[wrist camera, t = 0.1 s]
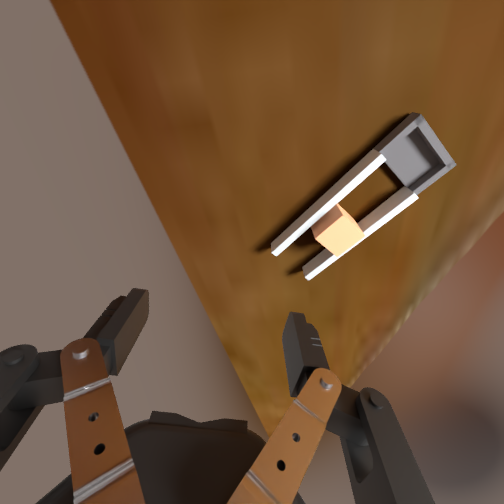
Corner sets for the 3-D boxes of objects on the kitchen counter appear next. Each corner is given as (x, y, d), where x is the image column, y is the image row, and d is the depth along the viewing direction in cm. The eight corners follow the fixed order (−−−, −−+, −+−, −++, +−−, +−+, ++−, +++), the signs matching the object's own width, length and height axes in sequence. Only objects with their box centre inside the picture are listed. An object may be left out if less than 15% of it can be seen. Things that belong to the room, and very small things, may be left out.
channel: (372, 148, 29) (381, 153, 27) (408, 190, 32) (418, 198, 30) (270, 243, 37) (271, 252, 35) (306, 270, 40) (309, 280, 38)
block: (333, 200, 33) (343, 214, 30) (354, 219, 35) (365, 235, 31) (309, 222, 35) (315, 238, 32) (329, 239, 37) (337, 257, 33)
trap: (412, 112, 27) (421, 114, 26) (446, 160, 30) (456, 164, 28) (372, 148, 29) (379, 152, 28) (408, 190, 32) (415, 195, 31)
